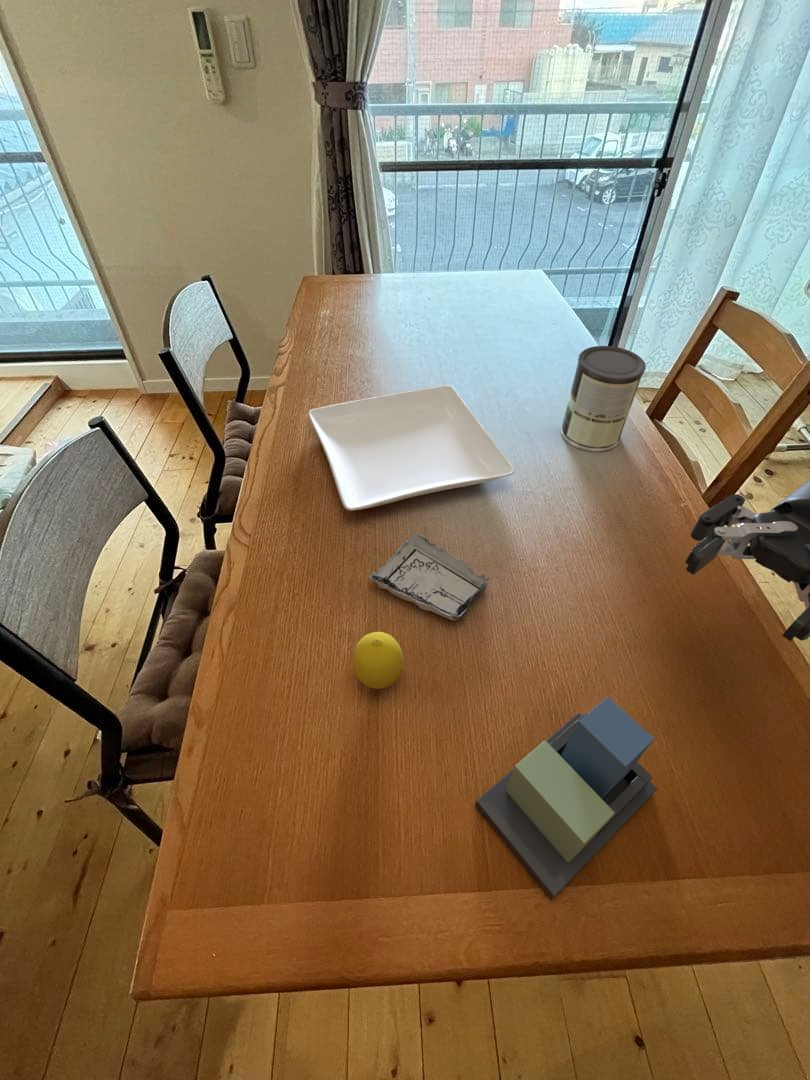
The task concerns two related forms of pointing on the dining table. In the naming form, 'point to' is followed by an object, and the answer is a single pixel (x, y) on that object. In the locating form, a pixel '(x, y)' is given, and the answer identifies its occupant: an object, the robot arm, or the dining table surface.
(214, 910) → the dining table surface
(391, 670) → the lemon
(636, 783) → the seat frame
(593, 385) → the coffee can
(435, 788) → the dining table surface
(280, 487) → the dining table surface
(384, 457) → the square plate
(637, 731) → the blue rectangular block
